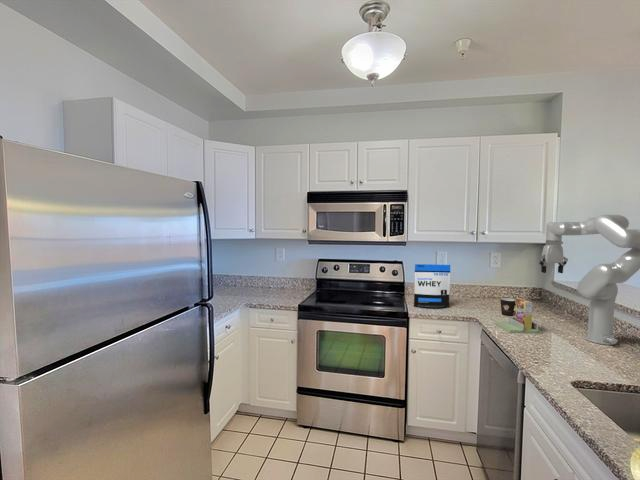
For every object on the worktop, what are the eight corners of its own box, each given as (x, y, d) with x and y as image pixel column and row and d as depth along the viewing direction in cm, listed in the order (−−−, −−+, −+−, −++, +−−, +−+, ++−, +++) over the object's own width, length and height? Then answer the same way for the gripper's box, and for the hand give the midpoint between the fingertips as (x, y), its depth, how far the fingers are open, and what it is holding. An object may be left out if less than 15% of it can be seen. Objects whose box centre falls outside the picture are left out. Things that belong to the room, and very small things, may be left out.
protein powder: (412, 305, 236) (413, 263, 234) (446, 306, 235) (448, 264, 233) (415, 308, 226) (416, 265, 225) (451, 309, 225) (453, 265, 224)
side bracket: (537, 330, 177) (538, 324, 177) (522, 330, 177) (522, 324, 177) (523, 323, 190) (523, 317, 190) (508, 323, 190) (509, 317, 190)
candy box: (514, 324, 188) (515, 297, 187) (522, 324, 188) (523, 298, 187) (523, 329, 179) (525, 301, 178) (531, 329, 179) (533, 301, 178)
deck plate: (541, 333, 177) (541, 330, 177) (509, 333, 177) (510, 330, 177) (523, 324, 193) (523, 321, 193) (494, 323, 193) (494, 321, 193)
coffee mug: (496, 313, 216) (497, 298, 215) (505, 312, 219) (506, 297, 219) (513, 318, 205) (513, 302, 205) (522, 317, 209) (523, 301, 208)
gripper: (563, 243, 196) (562, 272, 197) (534, 243, 197) (533, 271, 197) (573, 244, 189) (571, 273, 190) (542, 243, 189) (541, 273, 190)
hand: (552, 272), depth 194 cm, fingers open, 9 cm apart
